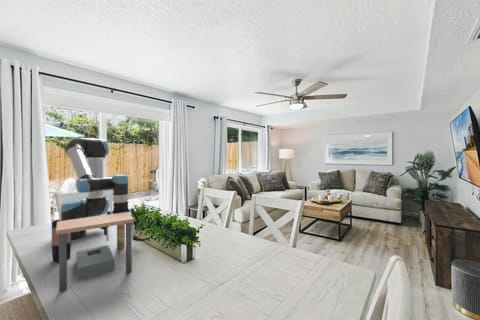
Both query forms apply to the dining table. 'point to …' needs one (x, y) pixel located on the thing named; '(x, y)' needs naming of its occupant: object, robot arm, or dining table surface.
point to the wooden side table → (87, 224)
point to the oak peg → (121, 236)
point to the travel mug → (56, 242)
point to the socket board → (94, 261)
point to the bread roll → (136, 237)
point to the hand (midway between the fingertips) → (120, 237)
